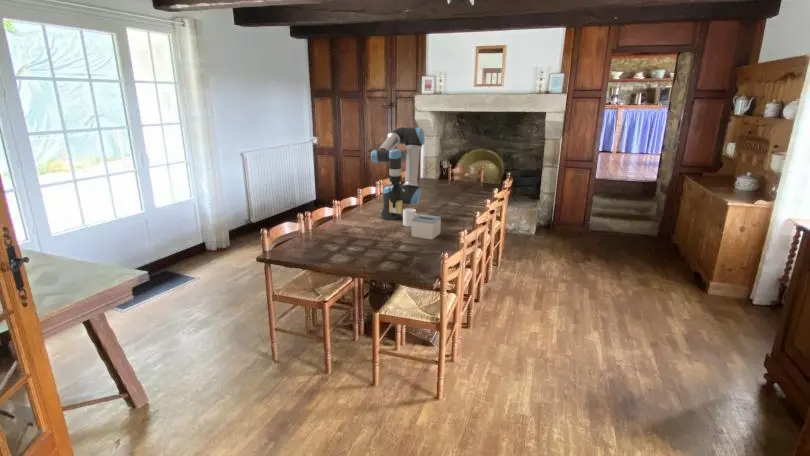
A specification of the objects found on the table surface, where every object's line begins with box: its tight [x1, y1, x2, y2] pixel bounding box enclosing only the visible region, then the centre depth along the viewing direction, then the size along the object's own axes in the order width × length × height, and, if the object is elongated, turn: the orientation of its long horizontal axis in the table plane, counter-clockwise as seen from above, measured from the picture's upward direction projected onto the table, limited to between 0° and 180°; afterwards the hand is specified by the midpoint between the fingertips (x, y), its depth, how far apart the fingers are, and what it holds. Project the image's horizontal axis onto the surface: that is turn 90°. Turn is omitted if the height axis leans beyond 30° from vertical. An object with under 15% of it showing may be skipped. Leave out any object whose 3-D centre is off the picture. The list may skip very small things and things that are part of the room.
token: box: [389, 200, 403, 214], centre depth 271 cm, size 8×2×8 cm, turn 65°
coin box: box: [410, 213, 442, 240], centre depth 271 cm, size 14×14×11 cm
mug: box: [402, 208, 419, 228], centre depth 291 cm, size 9×12×11 cm
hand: (395, 211), depth 272 cm, fingers closed on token, 2 cm apart
